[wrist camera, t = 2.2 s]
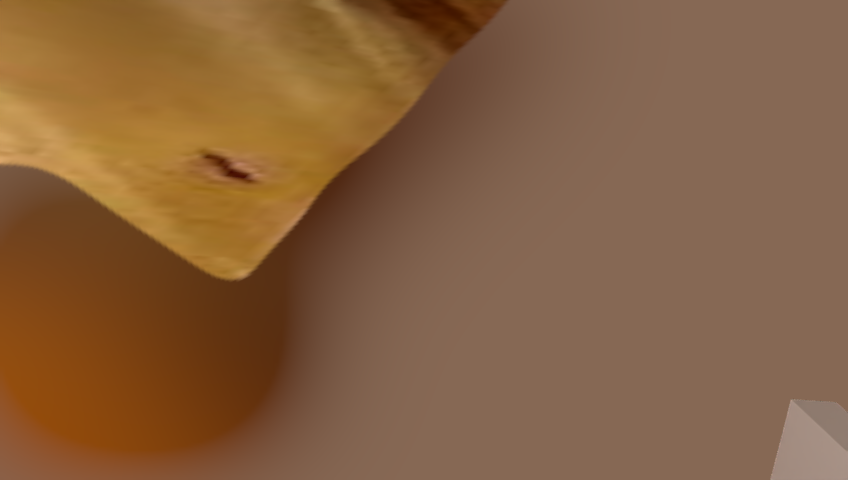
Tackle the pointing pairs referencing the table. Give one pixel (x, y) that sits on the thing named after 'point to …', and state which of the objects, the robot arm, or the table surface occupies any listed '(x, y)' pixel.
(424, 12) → the table surface
